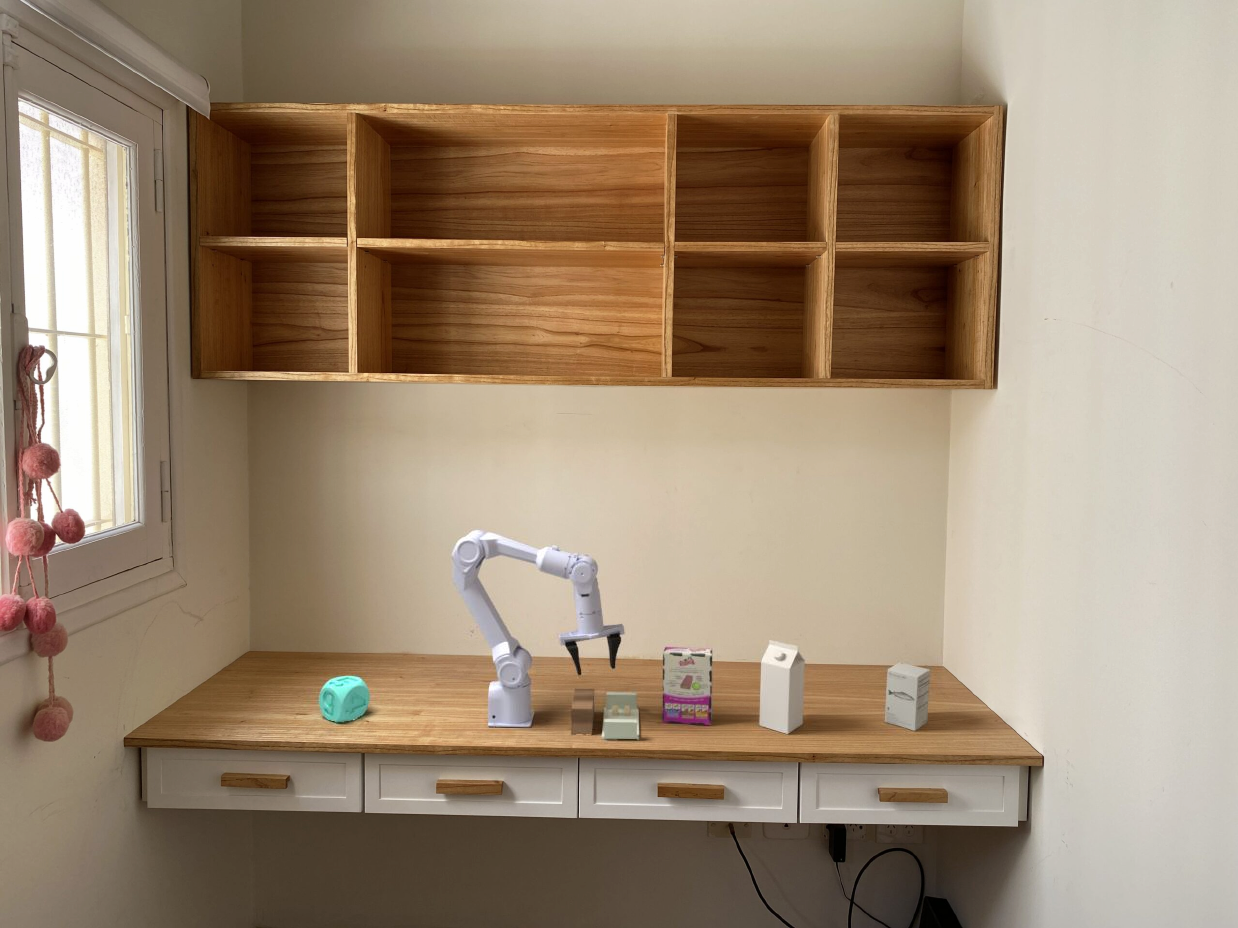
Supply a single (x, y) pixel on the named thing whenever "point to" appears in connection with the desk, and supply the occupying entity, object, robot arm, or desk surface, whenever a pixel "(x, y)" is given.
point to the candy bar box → (687, 686)
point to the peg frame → (621, 716)
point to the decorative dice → (344, 698)
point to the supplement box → (907, 696)
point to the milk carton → (782, 687)
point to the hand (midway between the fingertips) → (596, 670)
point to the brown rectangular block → (582, 712)
